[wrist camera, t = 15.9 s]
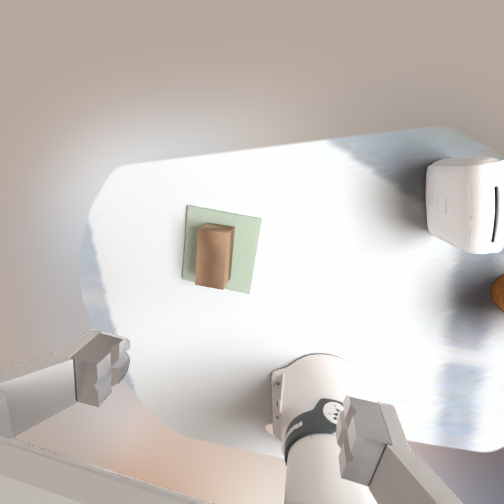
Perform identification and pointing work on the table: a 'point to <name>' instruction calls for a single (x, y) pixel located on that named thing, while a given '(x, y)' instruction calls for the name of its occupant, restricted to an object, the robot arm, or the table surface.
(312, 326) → the table surface
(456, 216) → the photo printer
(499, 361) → the table surface
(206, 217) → the rubber mat
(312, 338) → the table surface
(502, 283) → the disposable coffee cup
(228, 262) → the box
